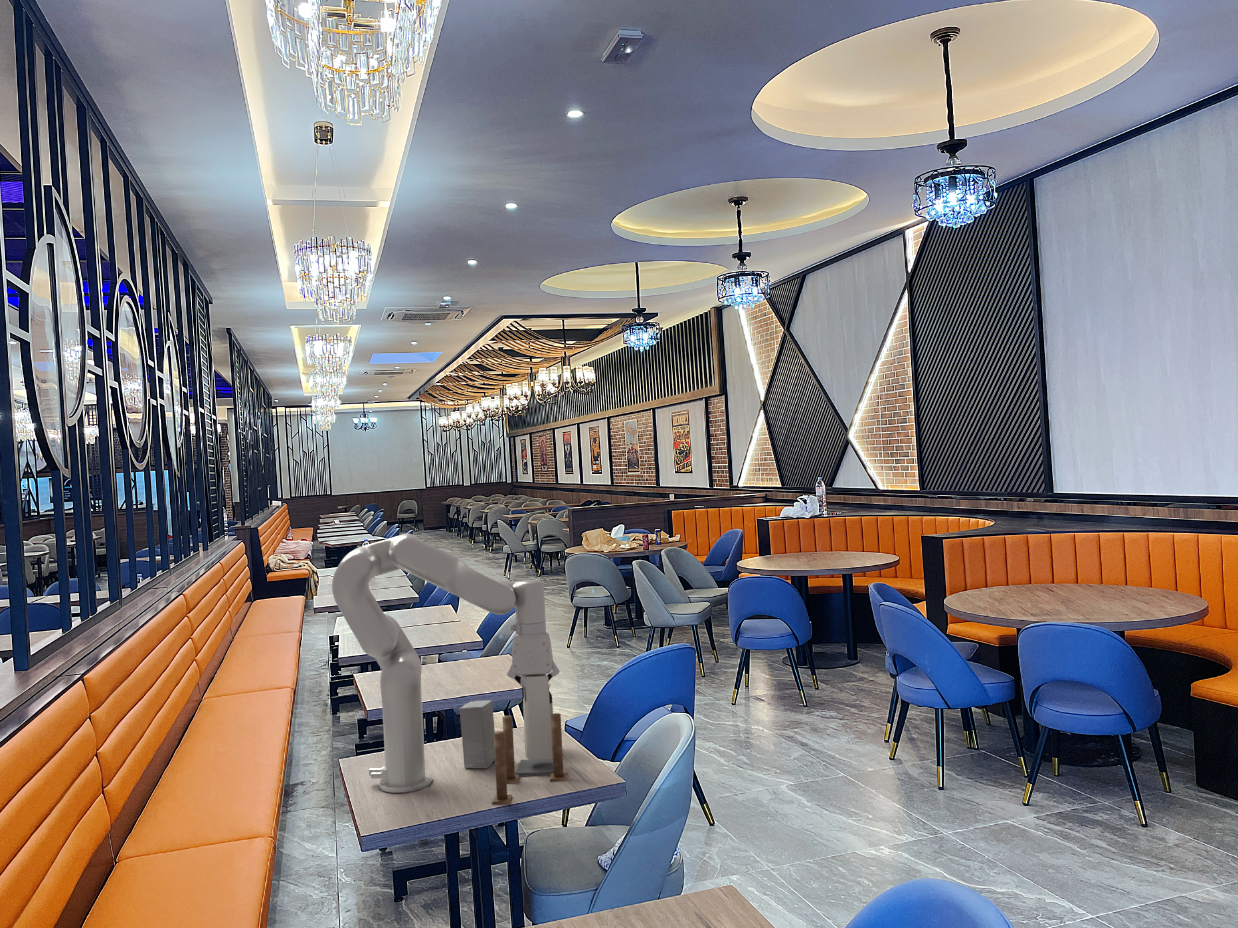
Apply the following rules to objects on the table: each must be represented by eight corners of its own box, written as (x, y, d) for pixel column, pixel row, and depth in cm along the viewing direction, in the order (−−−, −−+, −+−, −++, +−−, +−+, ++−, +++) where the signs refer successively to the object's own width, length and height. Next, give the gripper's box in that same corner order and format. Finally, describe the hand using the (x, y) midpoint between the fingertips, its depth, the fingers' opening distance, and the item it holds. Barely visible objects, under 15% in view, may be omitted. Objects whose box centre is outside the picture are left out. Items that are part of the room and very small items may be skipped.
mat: (515, 776, 213) (515, 773, 213) (521, 762, 223) (520, 759, 223) (555, 774, 212) (555, 771, 212) (559, 760, 222) (559, 757, 222)
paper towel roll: (524, 754, 220) (520, 671, 221) (547, 751, 222) (543, 669, 222) (528, 763, 213) (524, 677, 214) (552, 760, 215) (548, 675, 215)
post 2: (501, 783, 208) (497, 719, 208) (503, 777, 212) (500, 714, 212) (517, 782, 208) (514, 718, 208) (519, 776, 212) (516, 714, 212)
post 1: (492, 804, 195) (489, 735, 195) (495, 797, 199) (491, 730, 199) (509, 803, 195) (506, 735, 195) (512, 796, 199) (508, 729, 199)
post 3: (550, 781, 208) (546, 717, 208) (551, 775, 212) (548, 712, 212) (566, 780, 208) (563, 716, 208) (567, 774, 212) (564, 711, 212)
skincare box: (487, 769, 219) (484, 707, 219) (460, 768, 220) (457, 707, 221) (498, 758, 227) (495, 698, 227) (472, 757, 229) (470, 698, 229)
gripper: (496, 632, 214) (500, 706, 214) (562, 629, 214) (565, 703, 214) (501, 627, 222) (504, 698, 222) (564, 624, 222) (567, 695, 221)
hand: (534, 699), depth 218 cm, fingers closed on paper towel roll, 3 cm apart
